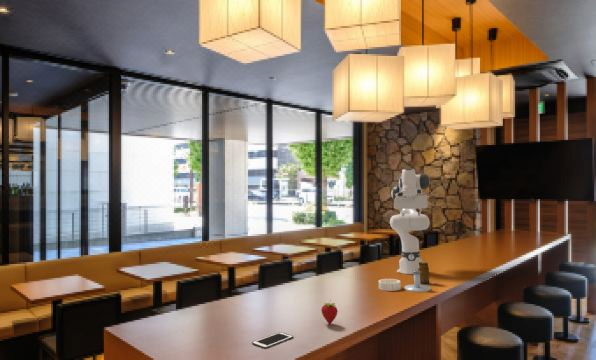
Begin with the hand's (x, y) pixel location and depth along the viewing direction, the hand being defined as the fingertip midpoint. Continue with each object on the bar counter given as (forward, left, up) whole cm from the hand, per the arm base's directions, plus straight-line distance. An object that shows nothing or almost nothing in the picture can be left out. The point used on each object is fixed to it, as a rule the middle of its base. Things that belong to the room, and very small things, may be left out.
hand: (411, 216), depth 245 cm
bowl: (+24, -15, -39) cm, 48 cm away
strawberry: (+90, -39, -39) cm, 105 cm away
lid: (+24, 0, -39) cm, 46 cm away
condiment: (+9, +6, -39) cm, 41 cm away
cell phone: (+112, -57, -40) cm, 131 cm away
